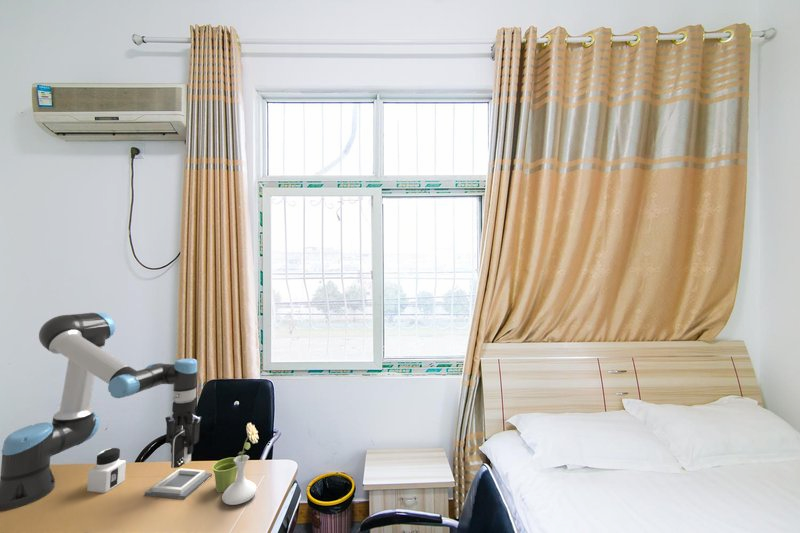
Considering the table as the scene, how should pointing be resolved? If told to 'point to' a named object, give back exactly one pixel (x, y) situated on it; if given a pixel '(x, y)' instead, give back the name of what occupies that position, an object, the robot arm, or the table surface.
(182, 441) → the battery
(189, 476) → the tray
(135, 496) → the table surface
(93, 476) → the container
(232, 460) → the plant pot
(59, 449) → the robot arm
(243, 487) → the flower in vase
